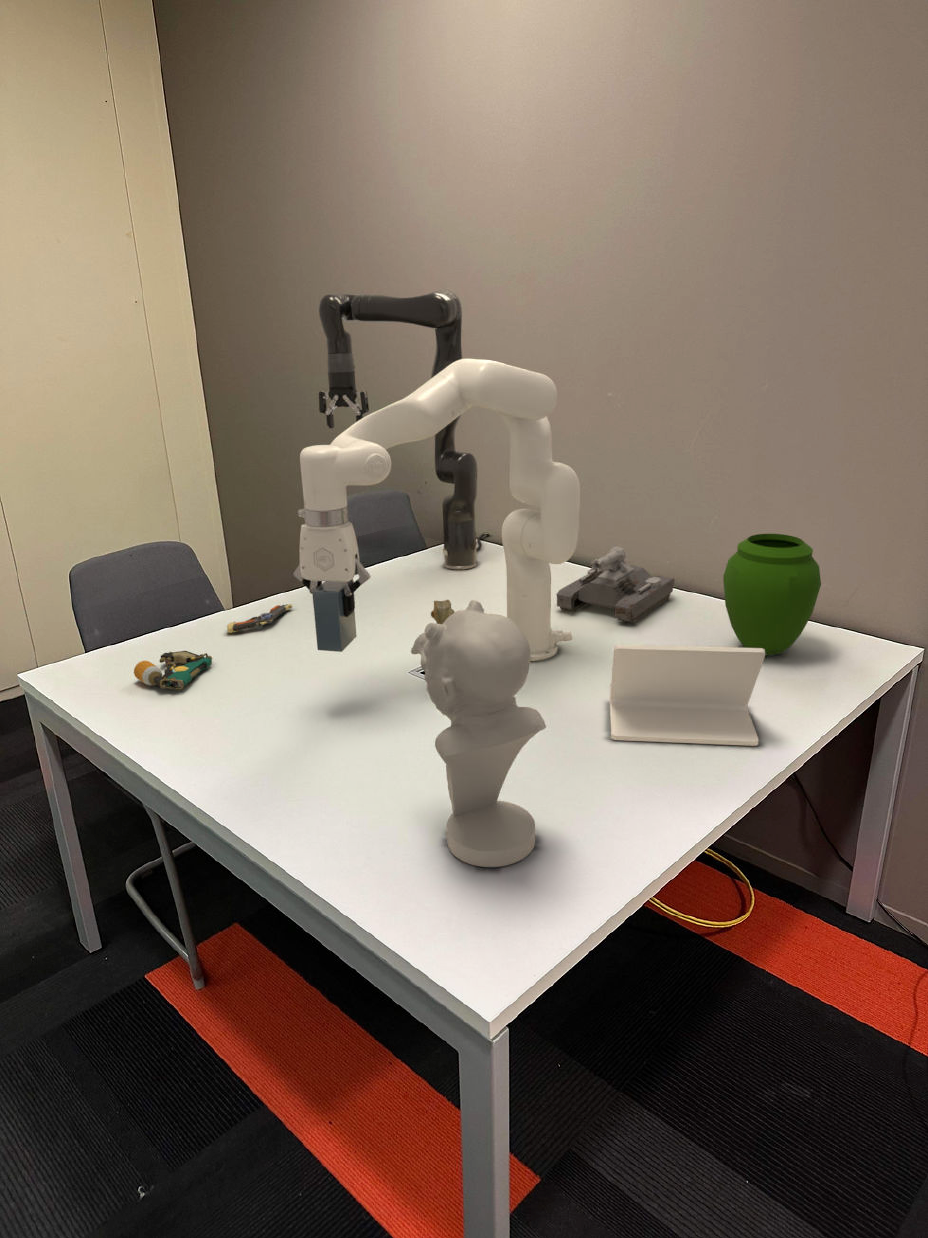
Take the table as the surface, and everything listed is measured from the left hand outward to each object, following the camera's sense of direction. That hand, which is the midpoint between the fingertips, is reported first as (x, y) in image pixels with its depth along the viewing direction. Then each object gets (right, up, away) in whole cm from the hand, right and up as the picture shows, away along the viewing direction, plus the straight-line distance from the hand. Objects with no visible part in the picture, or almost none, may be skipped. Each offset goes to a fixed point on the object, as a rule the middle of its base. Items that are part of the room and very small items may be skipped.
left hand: (345, 428), depth 246 cm
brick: (+10, -60, -86) cm, 105 cm away
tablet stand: (+74, -73, -90) cm, 137 cm away
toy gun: (-16, -56, -36) cm, 68 cm away
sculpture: (+30, -66, -66) cm, 98 cm away
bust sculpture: (+35, -86, -121) cm, 153 cm away
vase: (+99, -62, -61) cm, 132 cm away
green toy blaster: (-27, -67, -65) cm, 97 cm away
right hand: (+10, -54, -89) cm, 104 cm away
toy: (+72, -52, -31) cm, 94 cm away
